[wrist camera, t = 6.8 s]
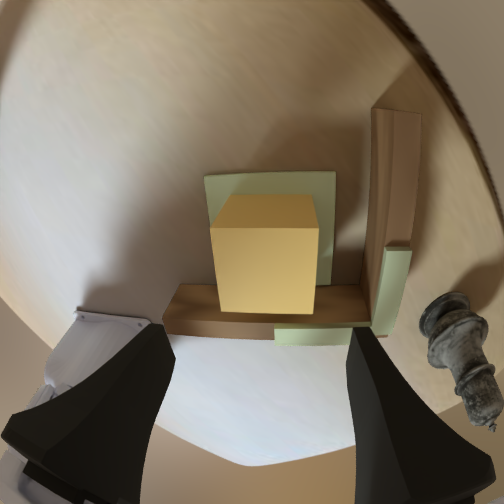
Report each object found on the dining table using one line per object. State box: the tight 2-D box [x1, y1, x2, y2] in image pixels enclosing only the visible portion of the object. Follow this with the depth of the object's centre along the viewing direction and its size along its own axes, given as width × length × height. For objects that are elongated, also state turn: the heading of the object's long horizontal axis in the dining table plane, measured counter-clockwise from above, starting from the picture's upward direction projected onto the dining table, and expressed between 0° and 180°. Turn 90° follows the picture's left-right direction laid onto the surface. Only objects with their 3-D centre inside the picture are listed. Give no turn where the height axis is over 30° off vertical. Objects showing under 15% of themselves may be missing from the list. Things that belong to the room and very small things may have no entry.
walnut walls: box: [162, 108, 422, 346], centre depth 17 cm, size 15×14×4 cm
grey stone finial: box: [419, 292, 504, 432], centre depth 16 cm, size 6×6×12 cm
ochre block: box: [210, 194, 319, 314], centre depth 17 cm, size 5×5×5 cm
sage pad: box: [204, 171, 336, 285], centre depth 19 cm, size 8×8×1 cm
